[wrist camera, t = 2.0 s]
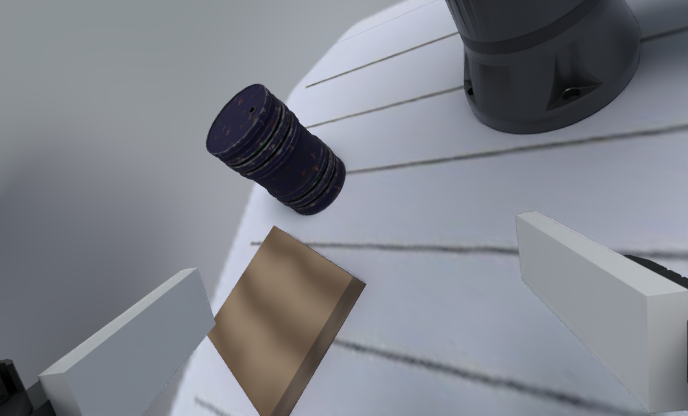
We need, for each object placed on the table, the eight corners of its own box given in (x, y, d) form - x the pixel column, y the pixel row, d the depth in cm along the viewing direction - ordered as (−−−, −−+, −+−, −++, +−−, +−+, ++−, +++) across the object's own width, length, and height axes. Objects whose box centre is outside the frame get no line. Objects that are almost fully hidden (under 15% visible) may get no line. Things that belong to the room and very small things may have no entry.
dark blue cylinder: (284, 220, 50) (194, 163, 39) (298, 164, 54) (221, 99, 44) (340, 210, 44) (252, 141, 34) (351, 148, 49) (277, 70, 38)
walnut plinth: (286, 233, 48) (273, 225, 46) (365, 284, 37) (353, 276, 35) (221, 336, 46) (205, 332, 44) (283, 424, 35) (265, 423, 33)
